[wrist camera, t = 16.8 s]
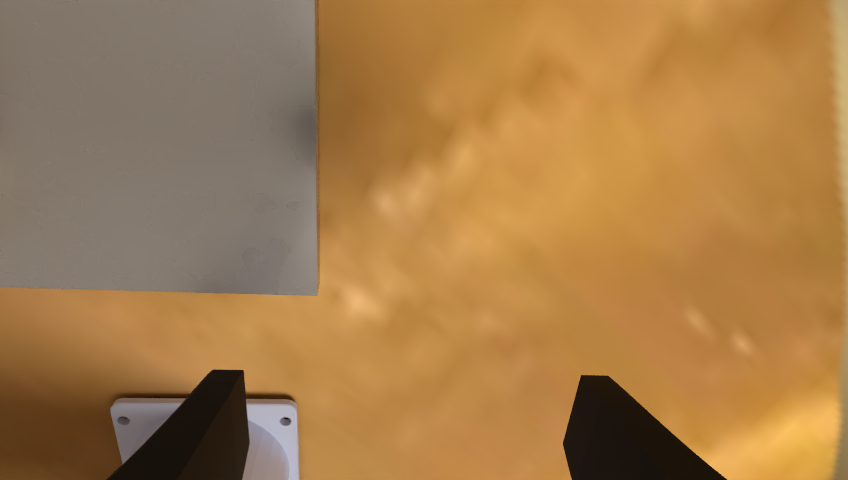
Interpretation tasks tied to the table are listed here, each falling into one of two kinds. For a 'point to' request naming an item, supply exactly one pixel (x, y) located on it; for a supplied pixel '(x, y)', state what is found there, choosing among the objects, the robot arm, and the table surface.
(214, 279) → the rail board
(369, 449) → the table surface
